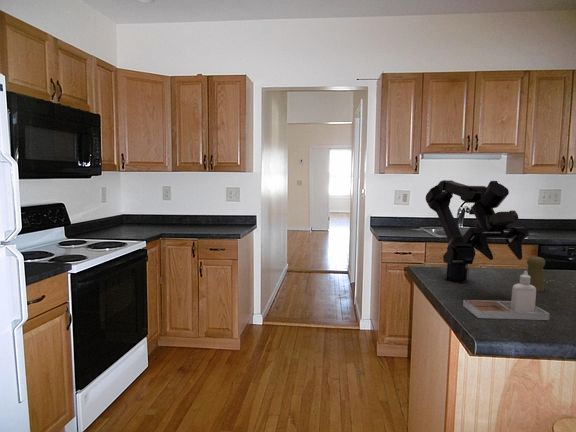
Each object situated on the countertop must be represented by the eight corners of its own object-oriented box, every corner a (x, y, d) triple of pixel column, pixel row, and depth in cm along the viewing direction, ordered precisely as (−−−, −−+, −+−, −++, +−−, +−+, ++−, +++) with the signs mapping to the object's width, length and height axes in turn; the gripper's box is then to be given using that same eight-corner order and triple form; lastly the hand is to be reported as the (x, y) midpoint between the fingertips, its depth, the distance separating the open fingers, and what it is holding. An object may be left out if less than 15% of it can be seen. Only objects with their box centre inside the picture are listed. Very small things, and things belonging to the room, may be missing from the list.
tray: (478, 318, 104) (478, 311, 104) (463, 305, 113) (463, 299, 113) (549, 320, 103) (549, 313, 103) (527, 307, 113) (528, 301, 113)
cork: (547, 292, 128) (550, 259, 127) (527, 290, 130) (530, 258, 128) (539, 286, 134) (542, 255, 133) (520, 285, 135) (523, 254, 134)
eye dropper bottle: (533, 317, 105) (537, 274, 104) (509, 313, 108) (513, 271, 107) (534, 313, 108) (538, 271, 107) (511, 308, 112) (514, 267, 110)
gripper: (470, 200, 117) (491, 244, 107) (527, 201, 119) (552, 243, 110) (454, 223, 126) (472, 264, 116) (508, 223, 128) (529, 264, 118)
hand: (506, 259), depth 115 cm, fingers open, 9 cm apart
